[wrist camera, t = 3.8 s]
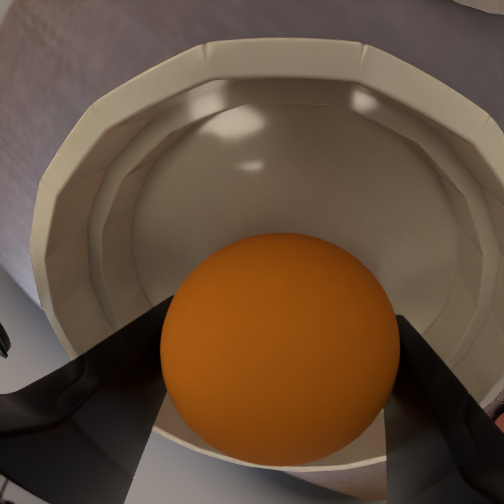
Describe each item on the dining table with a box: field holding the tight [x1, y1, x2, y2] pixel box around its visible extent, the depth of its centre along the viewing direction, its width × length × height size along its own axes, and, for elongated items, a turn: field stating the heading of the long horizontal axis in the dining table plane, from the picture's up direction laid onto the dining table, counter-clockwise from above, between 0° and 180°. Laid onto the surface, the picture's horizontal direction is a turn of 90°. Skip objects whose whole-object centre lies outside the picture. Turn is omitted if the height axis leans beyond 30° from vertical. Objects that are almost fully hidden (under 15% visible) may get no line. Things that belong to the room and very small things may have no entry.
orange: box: [160, 233, 400, 467], centre depth 8 cm, size 6×6×6 cm
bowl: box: [29, 37, 504, 472], centre depth 9 cm, size 14×14×4 cm
